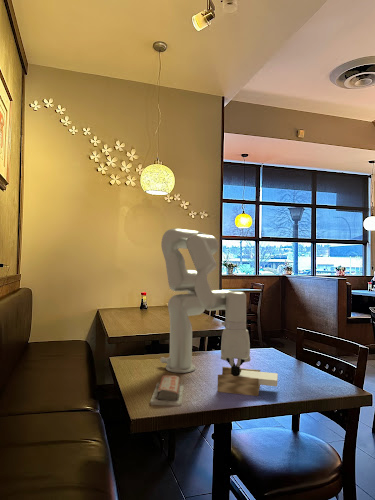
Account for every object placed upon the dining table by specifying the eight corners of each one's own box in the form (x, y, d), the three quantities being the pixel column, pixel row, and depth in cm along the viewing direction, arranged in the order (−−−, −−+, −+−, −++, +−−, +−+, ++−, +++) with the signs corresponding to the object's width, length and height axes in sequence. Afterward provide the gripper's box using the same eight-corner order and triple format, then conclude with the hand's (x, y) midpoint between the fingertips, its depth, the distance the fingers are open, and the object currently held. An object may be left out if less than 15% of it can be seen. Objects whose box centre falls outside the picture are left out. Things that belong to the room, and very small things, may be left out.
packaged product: (156, 373, 129) (184, 374, 129) (156, 387, 129) (183, 387, 129) (150, 390, 111) (181, 391, 111) (149, 406, 111) (181, 407, 111)
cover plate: (238, 382, 124) (238, 376, 124) (241, 375, 132) (241, 369, 132) (277, 386, 120) (277, 380, 120) (277, 379, 128) (277, 373, 128)
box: (217, 391, 124) (217, 375, 124) (222, 381, 135) (222, 366, 135) (258, 396, 120) (258, 379, 121) (260, 385, 131) (260, 370, 131)
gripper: (213, 326, 127) (213, 378, 126) (255, 328, 123) (255, 382, 122) (217, 323, 135) (217, 372, 134) (257, 325, 131) (257, 375, 130)
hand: (235, 376), depth 128 cm, fingers closed
